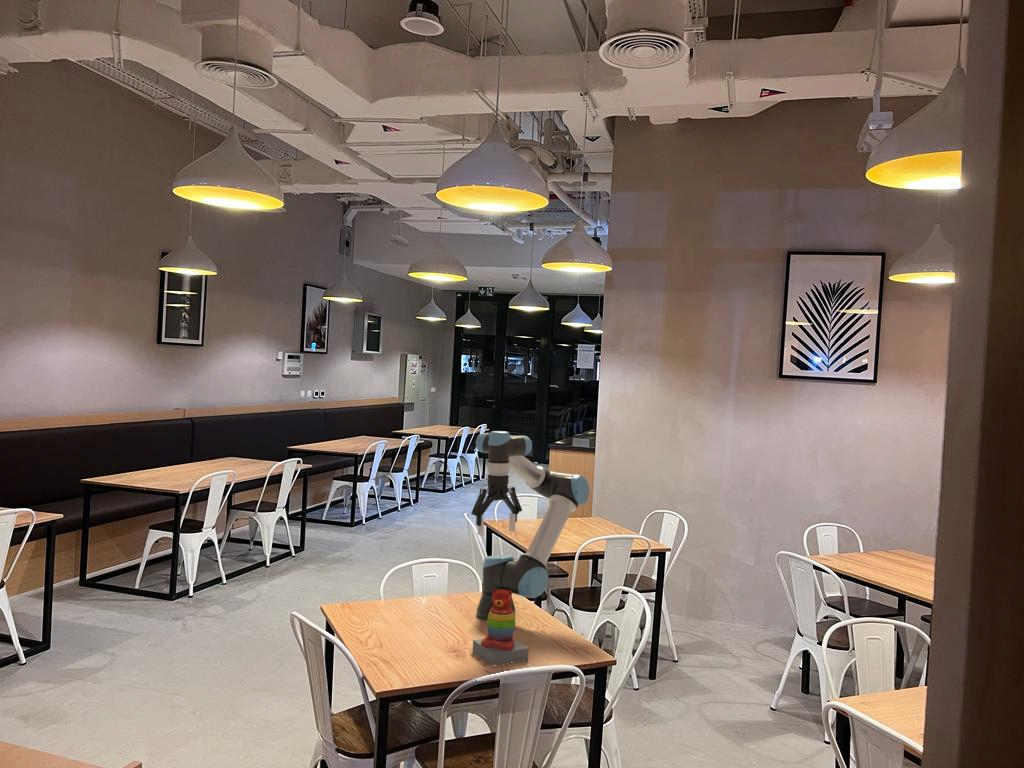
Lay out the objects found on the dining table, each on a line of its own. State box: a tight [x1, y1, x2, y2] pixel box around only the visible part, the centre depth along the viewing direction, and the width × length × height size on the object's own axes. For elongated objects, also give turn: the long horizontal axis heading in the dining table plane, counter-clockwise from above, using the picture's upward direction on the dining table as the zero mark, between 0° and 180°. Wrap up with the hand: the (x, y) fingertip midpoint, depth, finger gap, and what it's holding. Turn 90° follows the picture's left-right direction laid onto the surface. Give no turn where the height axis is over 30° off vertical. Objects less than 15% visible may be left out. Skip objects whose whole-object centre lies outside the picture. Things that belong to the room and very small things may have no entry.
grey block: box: [472, 637, 530, 667], centre depth 237 cm, size 13×14×4 cm
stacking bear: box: [481, 589, 516, 651], centre depth 237 cm, size 11×10×18 cm
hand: (496, 533), depth 260 cm, fingers open, 13 cm apart
